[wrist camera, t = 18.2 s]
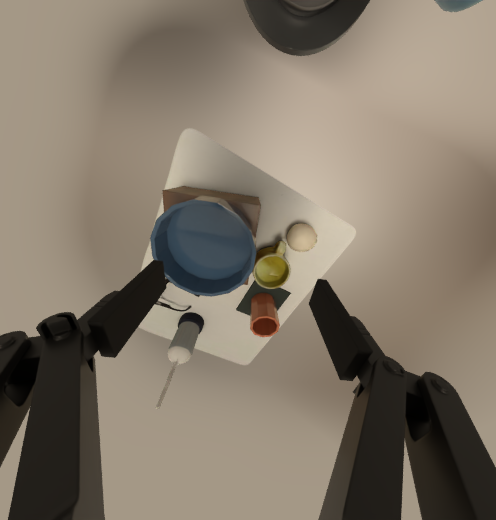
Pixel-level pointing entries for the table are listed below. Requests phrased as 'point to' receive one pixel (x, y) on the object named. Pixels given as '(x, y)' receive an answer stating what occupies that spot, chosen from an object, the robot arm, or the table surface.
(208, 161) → the table surface
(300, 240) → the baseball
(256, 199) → the riser
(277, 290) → the mat
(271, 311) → the cup
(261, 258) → the mug
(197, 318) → the humidifier
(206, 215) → the bowl
